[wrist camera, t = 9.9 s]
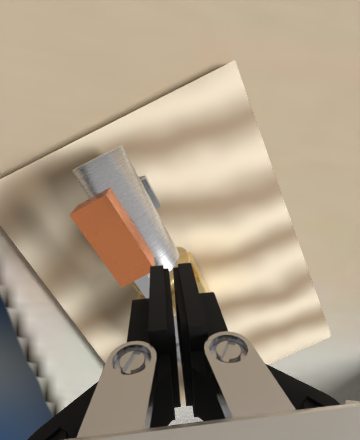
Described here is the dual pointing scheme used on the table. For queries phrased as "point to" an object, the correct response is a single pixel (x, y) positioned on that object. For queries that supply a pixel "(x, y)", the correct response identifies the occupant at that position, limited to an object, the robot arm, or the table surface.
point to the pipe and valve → (137, 209)
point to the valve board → (176, 219)
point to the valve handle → (117, 242)
